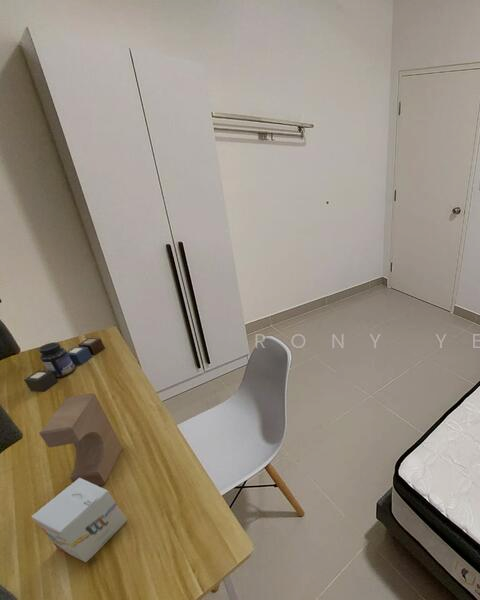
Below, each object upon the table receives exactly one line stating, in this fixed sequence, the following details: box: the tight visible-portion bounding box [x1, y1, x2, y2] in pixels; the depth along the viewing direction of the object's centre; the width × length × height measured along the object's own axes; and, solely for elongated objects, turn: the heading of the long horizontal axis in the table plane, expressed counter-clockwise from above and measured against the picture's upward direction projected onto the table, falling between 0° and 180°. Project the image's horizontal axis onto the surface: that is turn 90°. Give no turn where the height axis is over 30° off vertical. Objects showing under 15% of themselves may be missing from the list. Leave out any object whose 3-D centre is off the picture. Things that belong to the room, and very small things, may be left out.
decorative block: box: [38, 392, 123, 487], centre depth 78 cm, size 11×6×20 cm, turn 16°
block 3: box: [77, 337, 106, 356], centre depth 121 cm, size 4×4×5 cm
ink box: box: [31, 478, 128, 563], centre depth 67 cm, size 9×9×12 cm
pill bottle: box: [38, 341, 76, 379], centre depth 108 cm, size 6×6×11 cm
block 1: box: [23, 369, 59, 392], centre depth 104 cm, size 4×4×5 cm
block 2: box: [66, 346, 93, 366], centre depth 116 cm, size 4×4×5 cm
